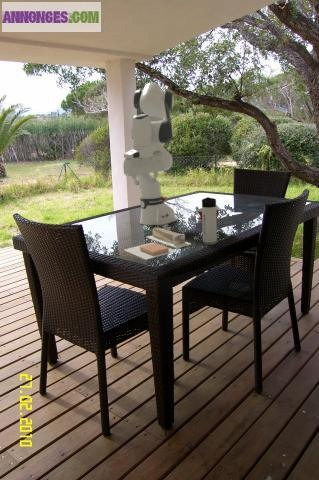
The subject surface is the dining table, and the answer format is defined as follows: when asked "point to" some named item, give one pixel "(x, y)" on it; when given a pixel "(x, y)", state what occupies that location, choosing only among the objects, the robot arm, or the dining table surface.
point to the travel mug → (209, 221)
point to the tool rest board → (168, 242)
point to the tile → (154, 249)
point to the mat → (143, 254)
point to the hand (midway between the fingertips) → (145, 183)
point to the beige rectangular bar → (169, 236)
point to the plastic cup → (201, 212)
